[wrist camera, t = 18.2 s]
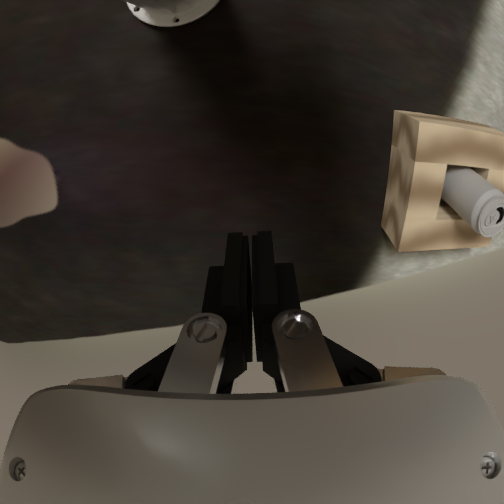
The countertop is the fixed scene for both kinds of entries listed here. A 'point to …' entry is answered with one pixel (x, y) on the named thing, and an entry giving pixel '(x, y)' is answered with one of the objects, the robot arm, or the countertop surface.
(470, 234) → the holder block
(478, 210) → the beverage can
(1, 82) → the countertop surface
